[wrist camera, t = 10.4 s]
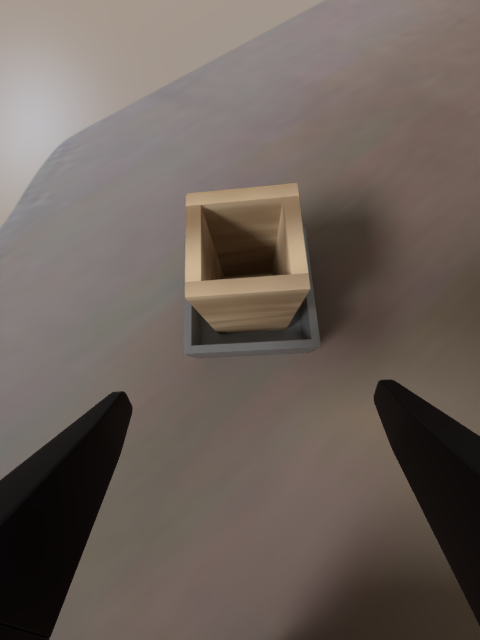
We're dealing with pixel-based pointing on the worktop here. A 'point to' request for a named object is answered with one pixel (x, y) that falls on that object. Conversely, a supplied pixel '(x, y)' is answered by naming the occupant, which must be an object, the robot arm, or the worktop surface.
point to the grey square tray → (292, 340)
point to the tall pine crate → (246, 257)
